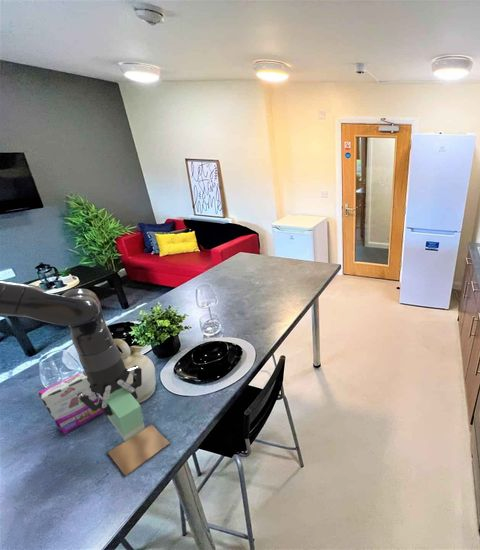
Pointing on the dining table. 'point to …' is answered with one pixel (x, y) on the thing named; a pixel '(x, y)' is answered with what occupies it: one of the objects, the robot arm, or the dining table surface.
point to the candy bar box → (69, 402)
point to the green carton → (125, 414)
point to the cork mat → (138, 449)
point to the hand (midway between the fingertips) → (122, 407)
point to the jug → (144, 363)
